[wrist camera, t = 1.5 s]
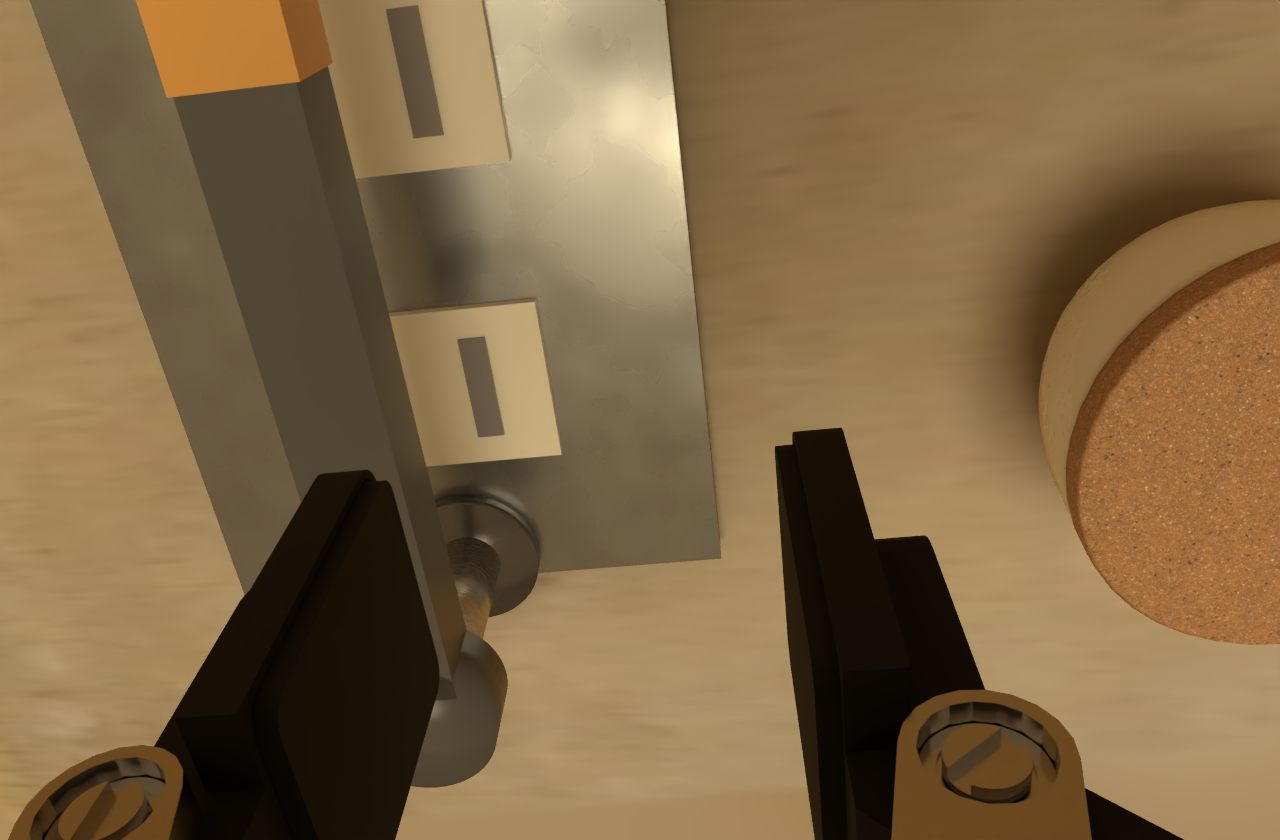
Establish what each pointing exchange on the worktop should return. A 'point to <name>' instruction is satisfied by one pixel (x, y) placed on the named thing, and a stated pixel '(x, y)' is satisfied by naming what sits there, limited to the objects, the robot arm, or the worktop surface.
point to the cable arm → (318, 303)
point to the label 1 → (415, 84)
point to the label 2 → (478, 382)
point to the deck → (453, 291)
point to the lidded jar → (1177, 421)
